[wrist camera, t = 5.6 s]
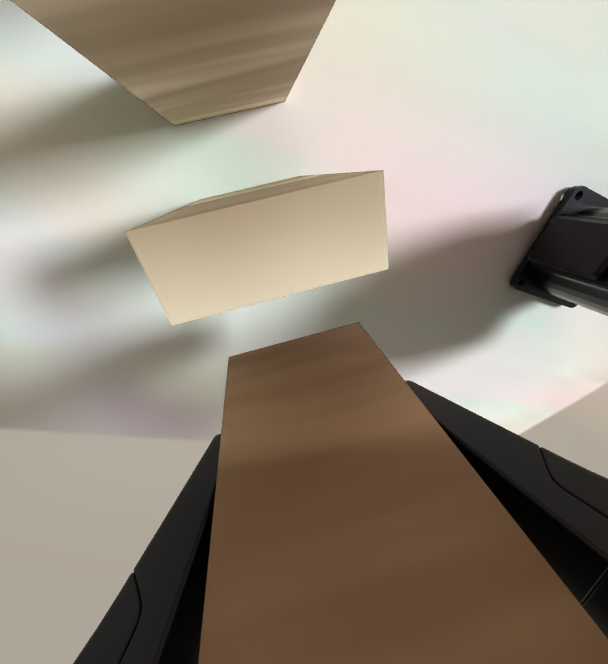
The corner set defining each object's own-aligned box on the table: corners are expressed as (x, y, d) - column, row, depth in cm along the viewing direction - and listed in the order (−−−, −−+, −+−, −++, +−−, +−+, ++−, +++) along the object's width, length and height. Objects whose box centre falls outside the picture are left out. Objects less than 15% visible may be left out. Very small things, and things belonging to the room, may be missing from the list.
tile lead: (363, 364, 12) (699, 894, 3) (245, 397, 11) (240, 1088, 3) (358, 322, 11) (839, 933, 2) (228, 357, 10) (140, 1244, 2)
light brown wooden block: (306, 218, 15) (388, 269, 6) (214, 240, 15) (172, 325, 6) (299, 176, 14) (383, 170, 5) (200, 199, 14) (124, 232, 5)
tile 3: (284, 101, 13) (370, -70, 4) (174, 125, 12) (8, -3, 4) (273, 40, 12) (355, -360, 3) (153, 65, 11) (-142, -301, 3)
